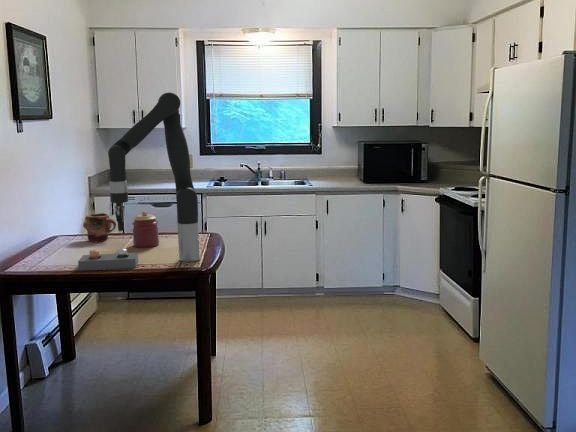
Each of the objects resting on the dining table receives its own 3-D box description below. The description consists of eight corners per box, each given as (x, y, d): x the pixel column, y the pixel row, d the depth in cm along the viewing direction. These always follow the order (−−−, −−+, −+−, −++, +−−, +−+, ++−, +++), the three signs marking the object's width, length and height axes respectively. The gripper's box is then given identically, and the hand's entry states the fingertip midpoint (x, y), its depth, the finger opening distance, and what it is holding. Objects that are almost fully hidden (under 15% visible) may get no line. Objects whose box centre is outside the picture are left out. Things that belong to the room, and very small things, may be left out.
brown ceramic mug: (123, 238, 331) (122, 213, 329) (111, 243, 320) (110, 217, 317) (90, 237, 336) (88, 212, 334) (77, 242, 325) (75, 216, 322)
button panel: (138, 261, 281) (137, 252, 280) (135, 267, 269) (135, 258, 268) (83, 263, 277) (83, 255, 276) (78, 270, 265) (78, 261, 265)
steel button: (127, 255, 275) (127, 248, 275) (126, 257, 271) (126, 250, 271) (118, 255, 275) (118, 248, 274) (117, 257, 271) (117, 250, 270)
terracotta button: (100, 256, 274) (99, 249, 273) (98, 258, 270) (98, 251, 269) (90, 256, 273) (90, 250, 273) (89, 258, 269) (88, 252, 269)
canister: (161, 246, 310) (159, 212, 307) (135, 249, 306) (133, 214, 303) (157, 241, 322) (155, 208, 319) (131, 244, 317) (129, 210, 314)
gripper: (126, 193, 262) (128, 233, 265) (129, 189, 275) (131, 227, 278) (107, 193, 261) (110, 233, 264) (112, 189, 274) (114, 228, 277)
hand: (121, 230), depth 271 cm, fingers closed
